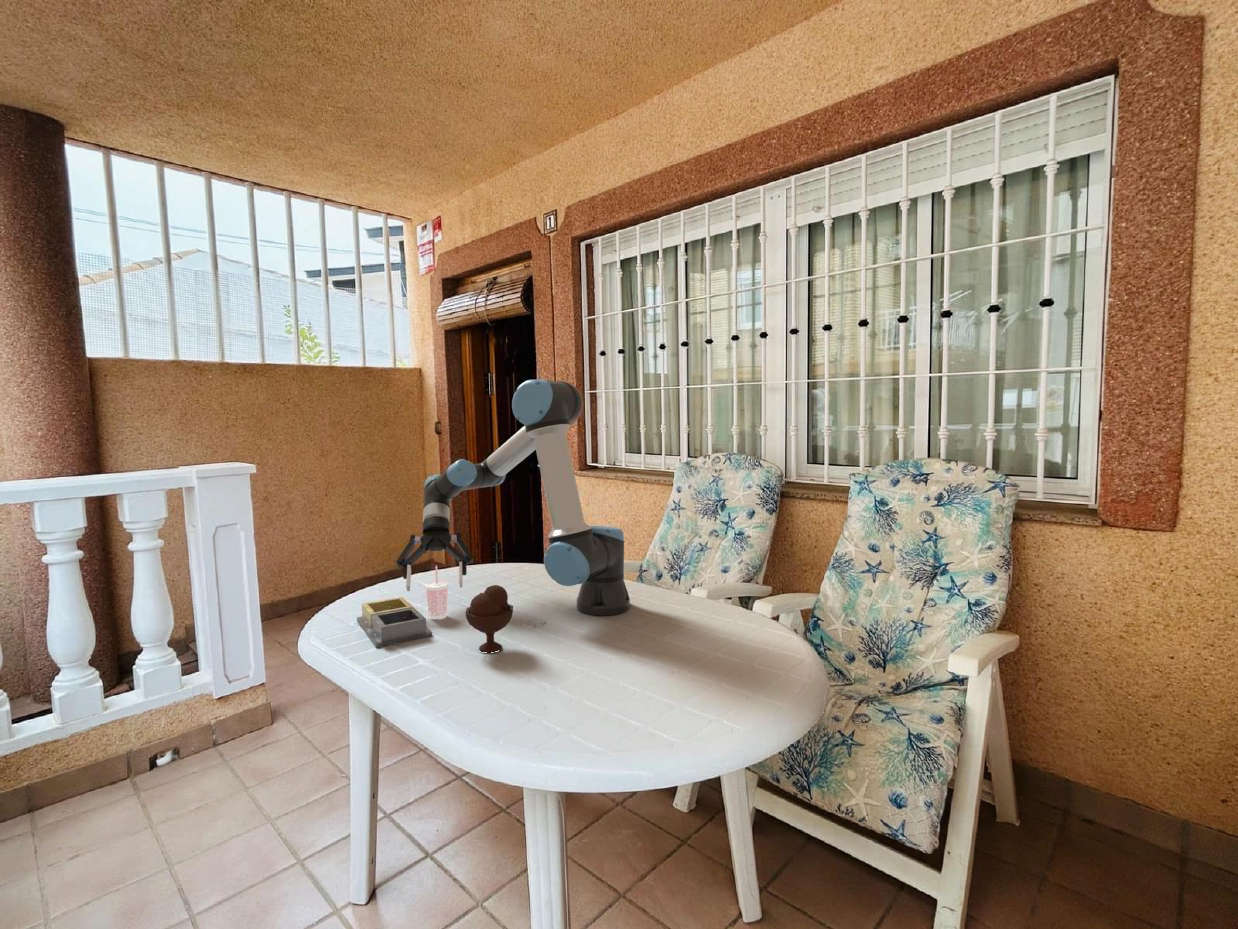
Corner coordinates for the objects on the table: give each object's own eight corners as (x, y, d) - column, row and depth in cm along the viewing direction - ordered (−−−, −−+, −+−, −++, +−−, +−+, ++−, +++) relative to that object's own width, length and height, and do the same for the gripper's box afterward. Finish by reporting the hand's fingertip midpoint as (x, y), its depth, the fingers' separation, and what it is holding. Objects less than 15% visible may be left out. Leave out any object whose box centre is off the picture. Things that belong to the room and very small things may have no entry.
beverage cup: (426, 622, 152) (425, 569, 151) (424, 615, 158) (423, 564, 157) (450, 618, 154) (449, 567, 153) (447, 612, 160) (446, 562, 159)
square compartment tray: (432, 635, 142) (431, 618, 142) (376, 647, 135) (375, 629, 134) (407, 611, 160) (407, 595, 160) (356, 621, 153) (356, 604, 152)
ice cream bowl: (496, 636, 142) (495, 576, 141) (523, 649, 134) (522, 586, 133) (457, 648, 134) (456, 585, 133) (483, 663, 126) (482, 595, 125)
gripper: (480, 527, 175) (482, 590, 162) (392, 531, 169) (387, 597, 156) (480, 512, 170) (482, 576, 156) (389, 516, 163) (383, 583, 150)
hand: (434, 587), depth 156 cm, fingers open, 13 cm apart
